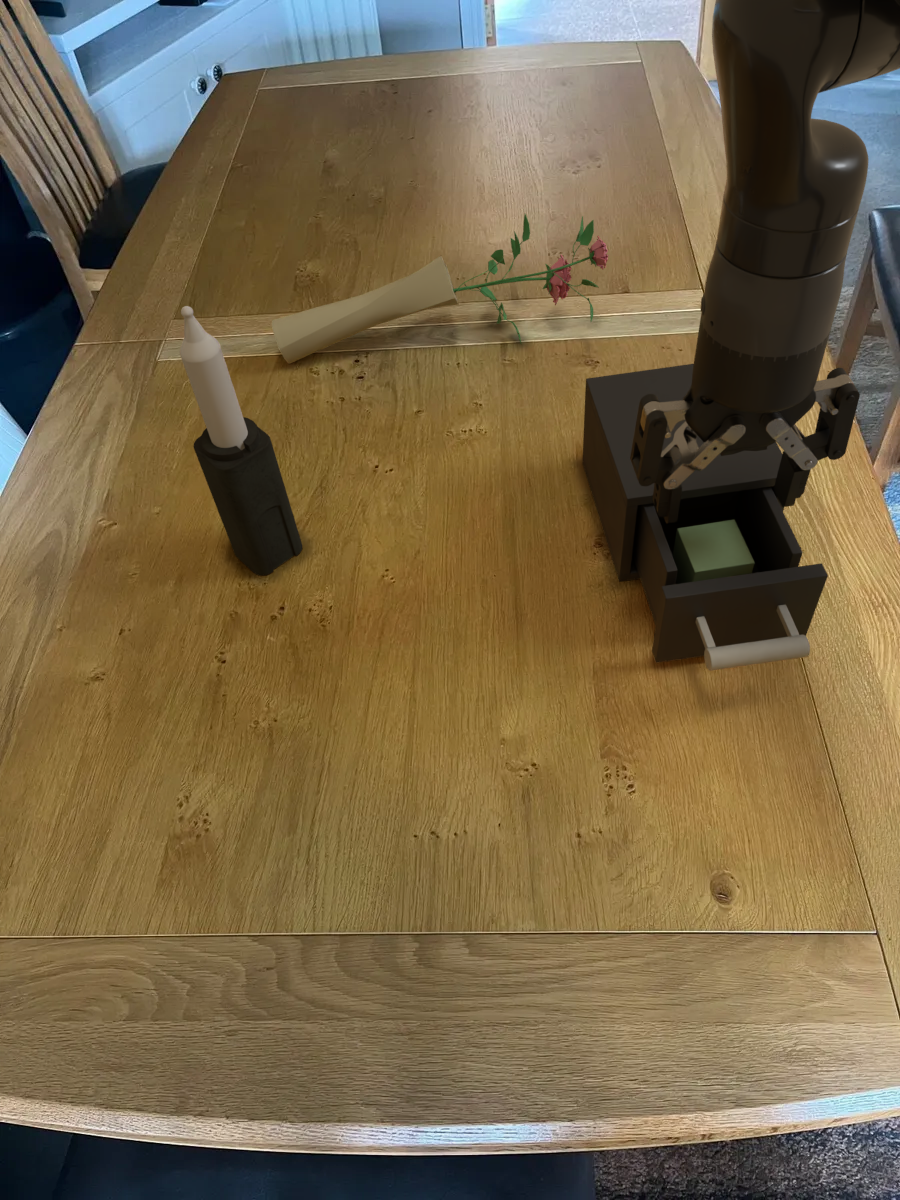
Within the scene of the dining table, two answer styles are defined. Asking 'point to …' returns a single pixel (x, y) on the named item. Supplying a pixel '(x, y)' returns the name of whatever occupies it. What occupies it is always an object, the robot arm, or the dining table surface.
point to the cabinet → (612, 440)
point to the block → (711, 552)
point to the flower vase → (417, 299)
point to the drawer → (729, 585)
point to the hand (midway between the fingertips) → (725, 506)
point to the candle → (237, 460)
